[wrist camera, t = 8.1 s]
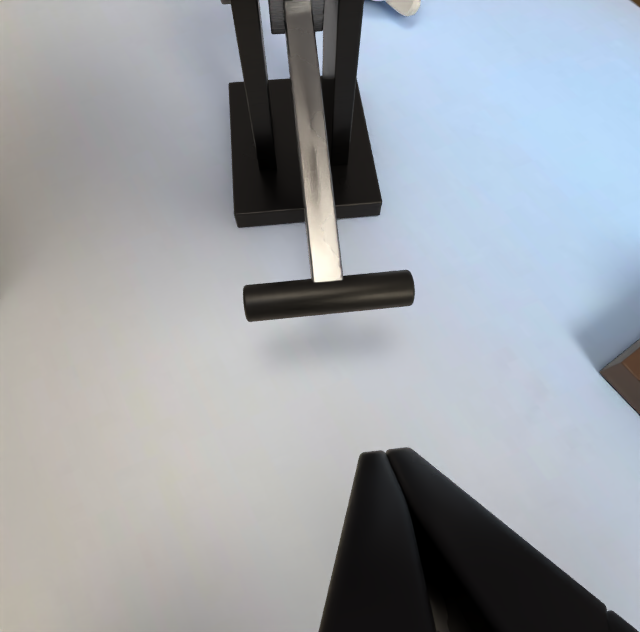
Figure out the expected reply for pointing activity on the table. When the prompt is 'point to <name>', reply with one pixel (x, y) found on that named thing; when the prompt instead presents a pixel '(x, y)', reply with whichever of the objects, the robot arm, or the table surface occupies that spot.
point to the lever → (317, 195)
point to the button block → (626, 375)
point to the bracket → (279, 126)
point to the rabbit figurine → (404, 6)
